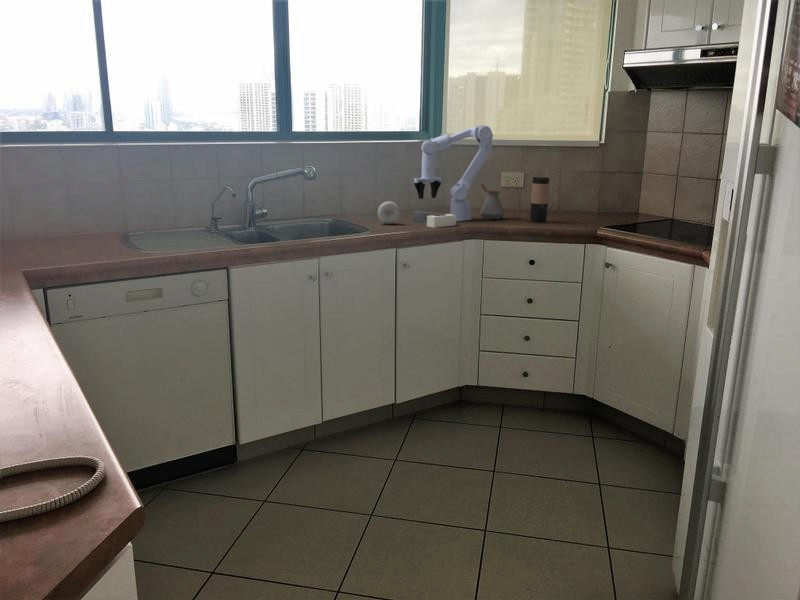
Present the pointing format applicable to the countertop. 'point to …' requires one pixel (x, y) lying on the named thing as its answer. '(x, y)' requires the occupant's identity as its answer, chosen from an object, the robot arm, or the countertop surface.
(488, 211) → the coffee pot
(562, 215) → the countertop surface
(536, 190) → the travel mug
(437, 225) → the cream u-shaped cradle
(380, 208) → the donut
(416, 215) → the rail
